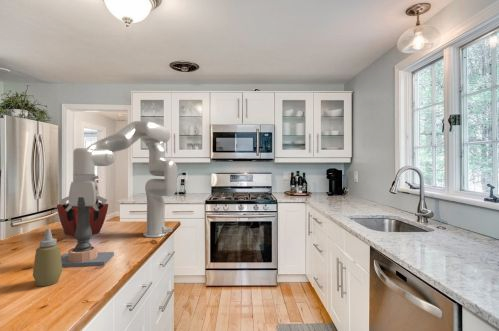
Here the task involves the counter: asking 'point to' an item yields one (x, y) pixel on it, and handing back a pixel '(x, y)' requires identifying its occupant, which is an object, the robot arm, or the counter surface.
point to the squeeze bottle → (47, 261)
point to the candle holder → (83, 227)
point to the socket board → (88, 263)
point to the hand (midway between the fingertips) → (83, 220)
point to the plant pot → (71, 225)
